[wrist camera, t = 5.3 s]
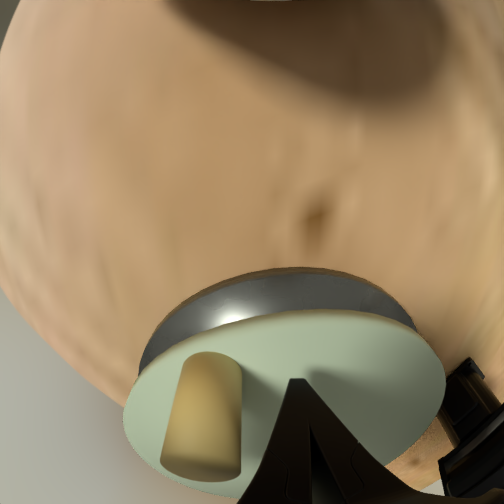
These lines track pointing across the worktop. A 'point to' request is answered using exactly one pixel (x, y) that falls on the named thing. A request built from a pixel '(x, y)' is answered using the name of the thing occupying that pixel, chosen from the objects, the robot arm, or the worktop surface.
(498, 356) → the worktop surface
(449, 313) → the worktop surface
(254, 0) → the paper bowls
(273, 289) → the grey metal shallow dish
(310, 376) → the handwheel
